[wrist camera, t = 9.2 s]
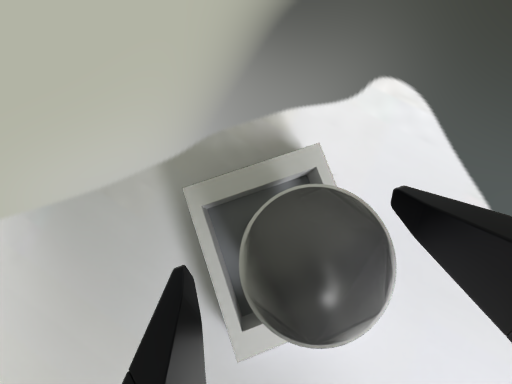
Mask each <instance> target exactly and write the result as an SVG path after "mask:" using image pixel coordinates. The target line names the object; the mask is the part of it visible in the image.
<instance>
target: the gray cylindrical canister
mask: <svg viewBox="0 0 512 384" xmlns="http://www.w3.org/2000/svg"><path fill="white" fill-rule="evenodd" d="M239 274H240V280H241V285H242V288H243V291H244V294H245V297H246V299H247V301H248V303H249V306H250V307H251V309H252V310H253V312H254V313H255V315H256V316H257V317H258V319H259V320H260V321H261V322H262V323H263V324H264V325H265V326H266V327H267V328H268V329H269V330H270V331H271V332H273V333H274V334H276V335H277V336H278V337H280V338H282V339H284V340H286V341H288V342H290V343H292V344H295V345H298V346H302V347H307V348H316V349H325V348H334V347H338V346H342V345H345V344H347V343H349V342H352V341H354V340H356V339H357V338H359V337H361V336H362V335H364V334H365V333H366V332H367V331H369V330H370V329H371V328H372V327H373V326H374V325H375V324H376V323H377V322H378V320H379V319H380V317H381V316H382V315H383V313H384V312H385V310H386V308H387V306H388V304H389V302H390V299H391V296H392V294H393V290H394V286H395V279H396V258H395V251H394V247H393V244H392V240H391V238H390V235H389V233H388V231H387V229H386V227H385V225H384V223H383V222H382V220H381V219H380V217H379V216H378V215H377V213H376V212H375V211H374V210H373V209H372V208H371V207H370V206H369V205H368V204H367V203H366V202H364V201H363V200H362V199H360V198H359V197H357V196H356V195H354V194H353V193H351V192H349V191H346V190H344V189H341V188H338V187H336V186H331V185H326V184H305V185H300V186H295V187H292V188H289V189H287V190H285V191H283V192H280V193H278V194H277V195H275V196H274V197H272V198H271V199H270V200H268V201H267V202H266V203H265V204H264V205H263V206H262V207H261V208H260V209H259V210H258V211H257V212H256V213H255V215H254V216H253V217H252V219H251V220H250V222H249V223H248V224H247V226H246V228H245V231H244V233H243V238H242V242H241V247H240V255H239Z"/></svg>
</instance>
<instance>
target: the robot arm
mask: <svg viewBox="0 0 512 384" xmlns="http://www.w3.org/2000/svg"><path fill="white" fill-rule="evenodd" d="M391 206H392V208H393V210H394V211H395V212H396V214H397V215H398V216H399V218H400V219H401V220H402V222H403V223H404V224H405V226H406V227H407V228H408V230H409V231H410V232H411V234H412V235H413V236H414V237H415V238H416V240H417V241H418V242H419V243H420V244H421V245H422V246H423V247H424V248H425V249H426V250H427V252H428V253H429V254H430V255H431V256H432V257H433V258H434V259H435V260H436V261H437V262H438V263H439V264H440V266H441V267H442V268H443V269H444V270H445V271H446V272H447V273H448V274H449V275H450V276H451V277H452V278H453V280H454V281H455V282H456V283H457V284H458V285H459V286H460V287H461V288H462V289H463V290H464V291H465V292H466V294H467V295H468V296H469V297H470V298H471V299H472V300H473V301H474V302H475V303H476V304H477V305H478V306H479V308H480V309H481V310H482V311H483V312H484V313H485V314H486V315H487V316H488V317H489V318H490V319H491V321H492V322H493V323H494V324H495V325H496V326H497V327H498V328H499V329H500V330H501V331H502V332H503V333H504V335H506V336H507V338H508V339H509V340H510V341H511V342H512V216H509V215H506V214H502V213H499V212H495V211H492V210H488V209H485V208H481V207H478V206H474V205H471V204H467V203H464V202H460V201H457V200H453V199H450V198H446V197H443V196H439V195H436V194H432V193H429V192H425V191H422V190H418V189H415V188H411V187H408V186H400V187H398V188H395V189H394V190H393V194H392V199H391ZM122 384H206V377H205V362H204V348H203V334H202V322H201V315H200V309H199V304H198V299H197V293H196V288H195V283H194V279H193V276H192V275H191V273H190V272H189V270H188V269H187V267H186V266H185V265H182V266H179V267H176V268H174V269H173V271H172V273H171V276H170V278H169V280H168V282H167V285H166V287H165V289H164V291H163V294H162V296H161V298H160V300H159V303H158V305H157V307H156V309H155V311H154V314H153V316H152V318H151V320H150V323H149V325H148V327H147V329H146V332H145V334H144V336H143V338H142V340H141V343H140V345H139V347H138V349H137V352H136V354H135V356H134V358H133V361H132V363H131V365H130V367H129V371H128V372H127V374H126V376H125V378H124V380H123V383H122Z"/></svg>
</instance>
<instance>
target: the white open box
mask: <svg viewBox="0 0 512 384" xmlns="http://www.w3.org/2000/svg"><path fill="white" fill-rule="evenodd" d="M305 184H326V185H331V186H336V183H335V181H334V178H333V176H332V173H331V171H330V168H329V166H328V163H327V160H326V158H325V155H324V153H323V150H322V148H321V145H320V143H317V144H314V145H311V146H308V147H305V148H302V149H299V150H296V151H293V152H290V153H287V154H284V155H281V156H278V157H275V158H272V159H268V160H265V161H262V162H259V163H256V164H253V165H250V166H247V167H244V168H241V169H238V170H235V171H232V172H229V173H226V174H223V175H220V176H217V177H214V178H211V179H208V180H205V181H202V182H199V183H196V184H193V185H190V186H187V187H184V188H182V189H183V192H184V196H185V199H186V202H187V205H188V208H189V211H190V214H191V218H192V221H193V224H194V227H195V230H196V233H197V237H198V240H199V243H200V246H201V249H202V252H203V255H204V259H205V262H206V265H207V268H208V271H209V274H210V278H211V281H212V284H213V287H214V290H215V293H216V296H217V300H218V303H219V306H220V309H221V312H222V315H223V318H224V322H225V325H226V328H227V331H228V334H229V337H230V341H231V344H232V347H233V350H234V353H235V356H236V359H237V363H238V362H241V361H243V360H246V359H248V358H250V357H253V356H255V355H258V354H260V353H263V352H265V351H268V350H270V349H272V348H275V347H277V346H280V345H282V344H285V343H287V342H288V341H286V340H284V339H282V338H280V337H278V336H277V335H276V334H274V333H273V332H271V331H270V330H269V329H268V328H267V327H266V326H265V325H264V324H263V323H262V322H261V321H260V320H259V319H258V317H257V316H256V315H255V313H254V312H253V310H252V309H251V307H250V306H249V303H248V301H247V299H246V297H245V294H244V291H243V288H242V285H241V280H240V274H239V255H240V247H241V242H242V238H243V233H244V231H245V228H246V226H247V224H248V223H249V222H250V220H251V219H252V217H253V216H254V215H255V213H256V212H257V211H258V210H259V209H260V208H261V207H262V206H263V205H264V204H265V203H266V202H267V201H268V200H270V199H271V198H272V197H274V196H275V195H277V194H278V193H280V192H283V191H285V190H287V189H289V188H292V187H295V186H300V185H305ZM336 187H337V186H336Z"/></svg>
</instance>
